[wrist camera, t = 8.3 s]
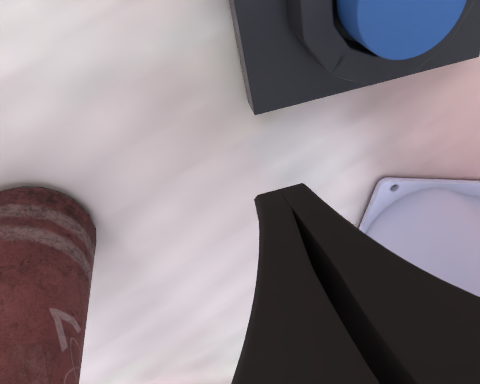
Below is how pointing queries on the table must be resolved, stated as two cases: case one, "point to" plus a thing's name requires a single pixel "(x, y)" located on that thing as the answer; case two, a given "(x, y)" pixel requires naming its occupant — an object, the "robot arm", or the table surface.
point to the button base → (325, 51)
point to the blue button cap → (399, 24)
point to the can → (43, 285)
